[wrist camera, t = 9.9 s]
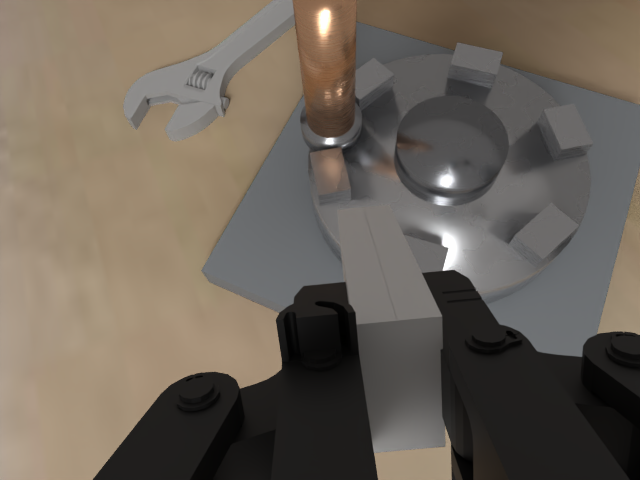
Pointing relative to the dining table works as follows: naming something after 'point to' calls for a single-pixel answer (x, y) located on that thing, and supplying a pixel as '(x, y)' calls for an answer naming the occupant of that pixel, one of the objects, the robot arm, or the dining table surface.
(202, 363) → the dining table surface
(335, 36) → the metal rotary base
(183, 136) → the adjustable wrench
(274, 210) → the base plate
